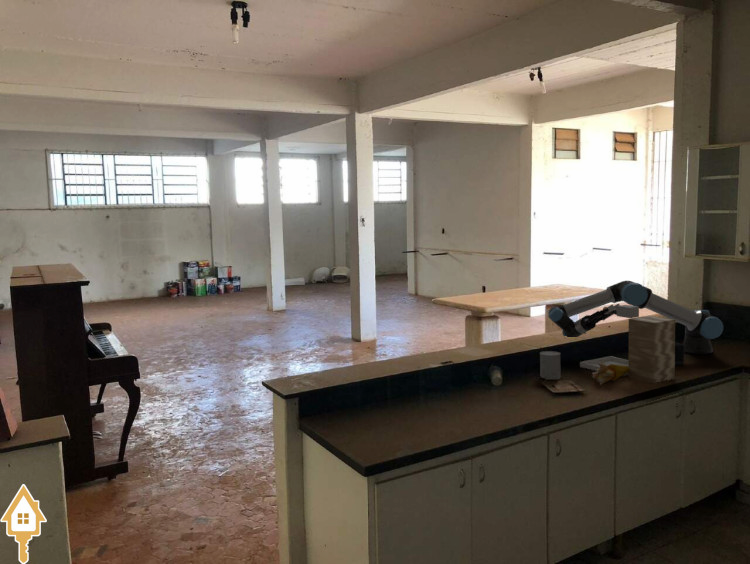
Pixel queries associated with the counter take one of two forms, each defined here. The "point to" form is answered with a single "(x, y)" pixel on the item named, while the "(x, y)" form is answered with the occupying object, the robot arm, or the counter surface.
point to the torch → (609, 372)
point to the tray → (606, 360)
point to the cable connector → (626, 311)
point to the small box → (679, 354)
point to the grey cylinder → (550, 365)
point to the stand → (652, 349)
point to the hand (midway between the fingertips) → (616, 306)
